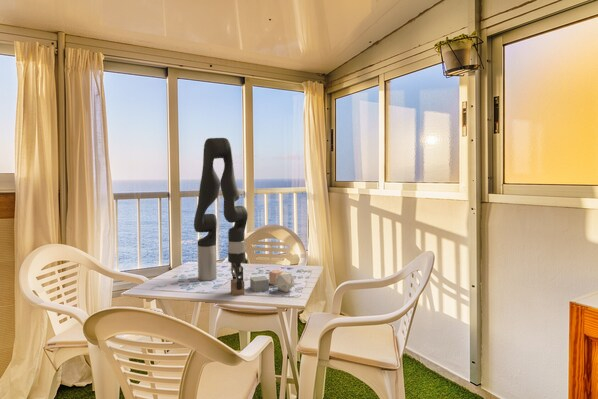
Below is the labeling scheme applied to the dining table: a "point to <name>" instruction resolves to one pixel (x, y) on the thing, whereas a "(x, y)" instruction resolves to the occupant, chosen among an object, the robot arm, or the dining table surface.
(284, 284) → the die
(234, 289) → the walnut block
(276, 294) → the dining table surface
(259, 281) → the slate block
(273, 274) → the terracotta block
